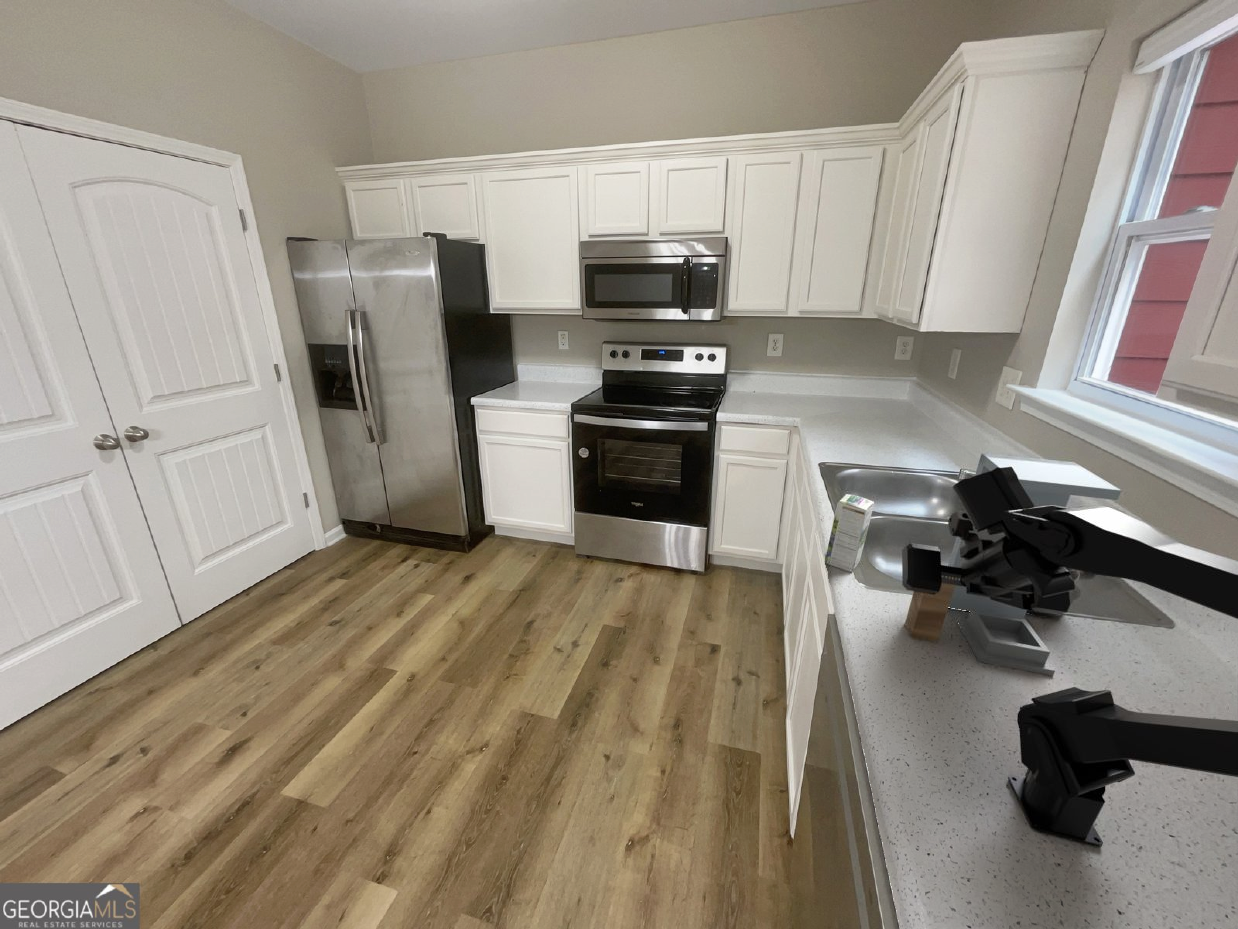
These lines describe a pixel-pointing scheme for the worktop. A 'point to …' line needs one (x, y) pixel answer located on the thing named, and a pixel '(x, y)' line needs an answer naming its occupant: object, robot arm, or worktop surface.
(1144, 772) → the worktop surface
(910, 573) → the robot arm
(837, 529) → the syrup box
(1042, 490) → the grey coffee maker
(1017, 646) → the socket
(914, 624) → the peg
